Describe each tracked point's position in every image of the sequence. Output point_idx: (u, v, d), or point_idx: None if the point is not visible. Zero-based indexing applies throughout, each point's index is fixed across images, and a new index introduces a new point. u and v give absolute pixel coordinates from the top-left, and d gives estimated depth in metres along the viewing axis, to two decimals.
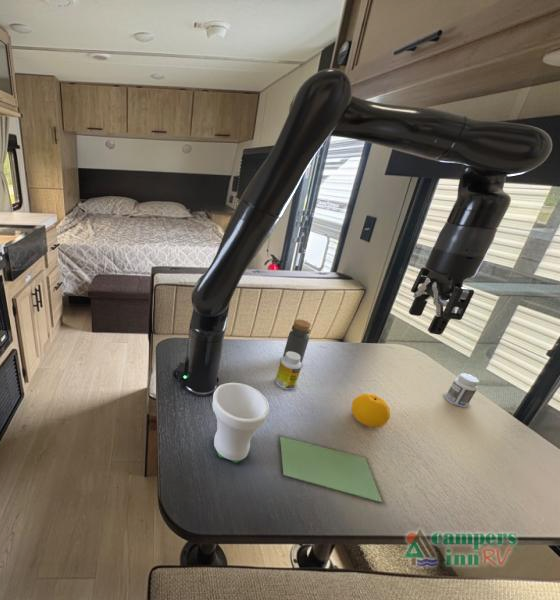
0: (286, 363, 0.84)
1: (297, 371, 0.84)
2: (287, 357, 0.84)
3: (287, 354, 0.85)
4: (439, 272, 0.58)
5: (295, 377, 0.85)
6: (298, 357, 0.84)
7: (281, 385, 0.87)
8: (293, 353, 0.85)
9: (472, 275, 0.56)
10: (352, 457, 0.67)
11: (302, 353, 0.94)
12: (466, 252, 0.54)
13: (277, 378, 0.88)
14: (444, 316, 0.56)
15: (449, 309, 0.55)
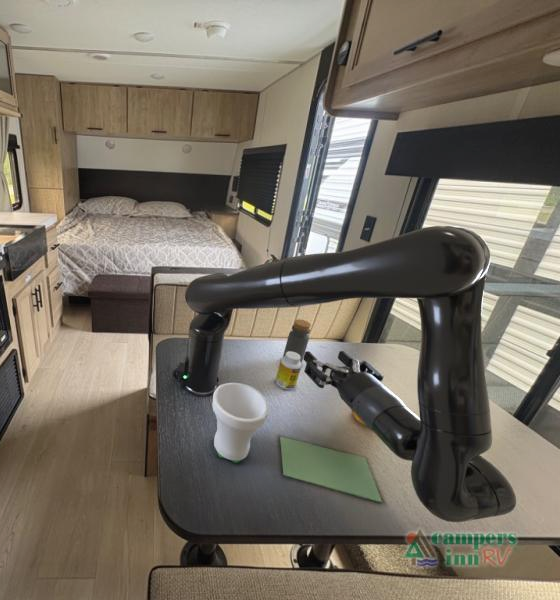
0: (286, 363, 0.84)
1: (297, 371, 0.84)
2: (287, 357, 0.84)
3: (287, 354, 0.85)
4: (349, 376, 0.59)
5: (295, 377, 0.85)
6: (298, 357, 0.84)
7: (281, 385, 0.87)
8: (293, 353, 0.85)
9: None
10: (352, 457, 0.67)
11: (302, 353, 0.94)
12: (356, 400, 0.56)
13: (277, 378, 0.88)
14: (308, 362, 0.66)
15: (310, 366, 0.64)
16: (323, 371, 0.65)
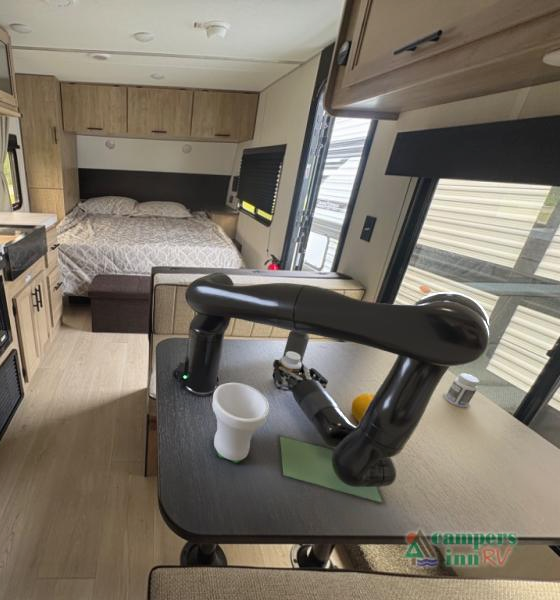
0: (286, 363, 0.84)
1: (297, 371, 0.84)
2: (287, 357, 0.84)
3: (287, 354, 0.85)
4: (301, 383, 0.76)
5: None
6: (298, 357, 0.84)
7: None
8: (293, 353, 0.85)
9: (294, 398, 0.77)
10: None
11: (302, 353, 0.94)
12: (303, 401, 0.73)
13: None
14: (275, 368, 0.83)
15: (275, 372, 0.82)
16: (285, 376, 0.82)
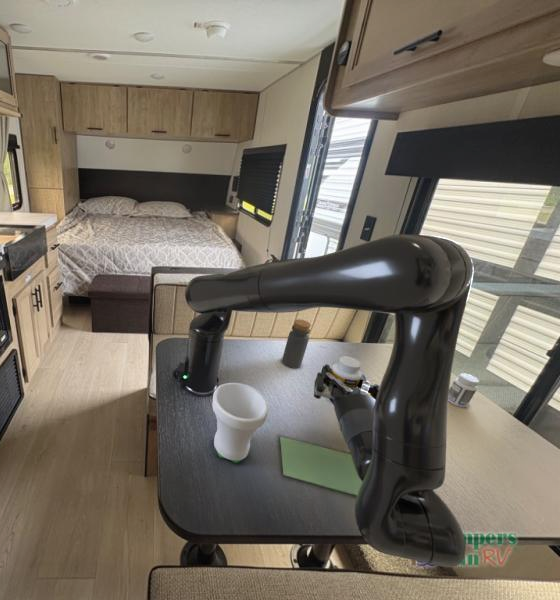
0: (338, 370, 0.64)
1: (352, 383, 0.62)
2: (340, 362, 0.64)
3: (341, 359, 0.64)
4: (347, 395, 0.56)
5: None
6: (356, 365, 0.62)
7: None
8: (351, 359, 0.64)
9: (336, 414, 0.58)
10: None
11: (302, 353, 0.94)
12: (343, 418, 0.53)
13: None
14: (319, 373, 0.64)
15: (317, 376, 0.63)
16: (331, 385, 0.62)
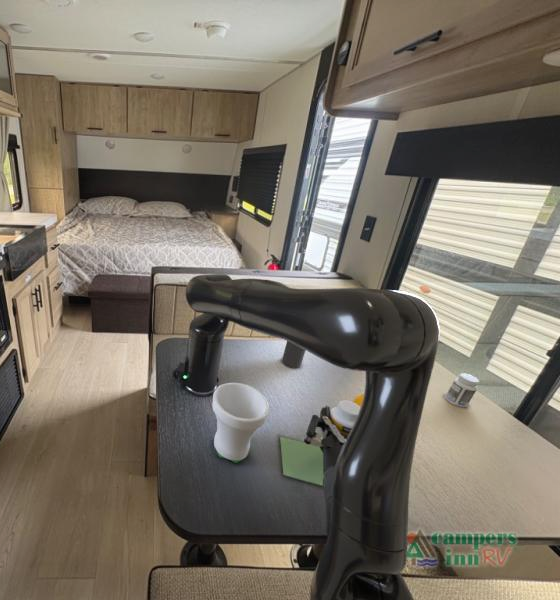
0: (336, 414, 0.58)
1: None
2: (339, 406, 0.58)
3: (342, 403, 0.58)
4: (336, 446, 0.51)
5: None
6: (357, 412, 0.56)
7: None
8: (353, 405, 0.58)
9: None
10: None
11: (302, 353, 0.94)
12: (326, 472, 0.48)
13: None
14: (314, 415, 0.59)
15: (311, 419, 0.58)
16: (326, 431, 0.57)
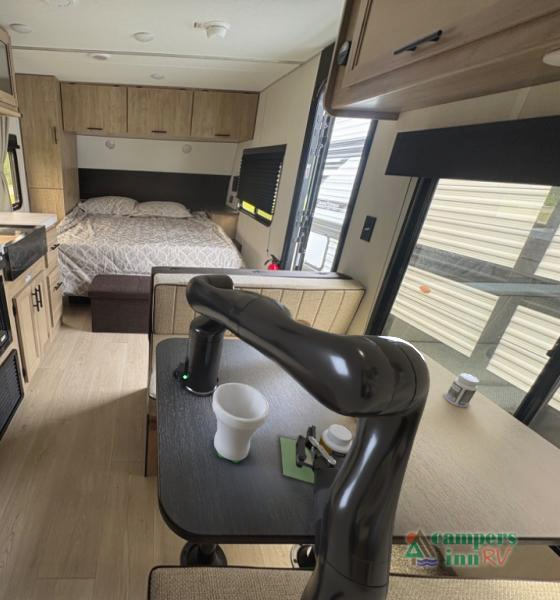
0: (326, 439, 0.61)
1: (340, 456, 0.59)
2: (330, 431, 0.60)
3: (332, 427, 0.61)
4: (326, 468, 0.53)
5: None
6: (346, 437, 0.59)
7: None
8: (343, 429, 0.60)
9: None
10: None
11: None
12: (316, 494, 0.51)
13: None
14: (300, 435, 0.61)
15: (298, 441, 0.60)
16: (314, 452, 0.59)
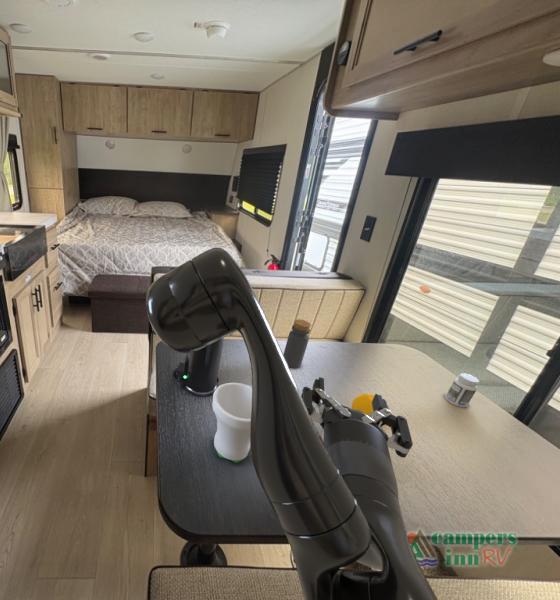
0: None
1: None
2: None
3: None
4: (340, 420, 0.42)
5: None
6: None
7: None
8: None
9: None
10: None
11: (302, 353, 0.94)
12: (327, 450, 0.40)
13: None
14: (306, 387, 0.50)
15: (303, 393, 0.49)
16: (322, 406, 0.48)
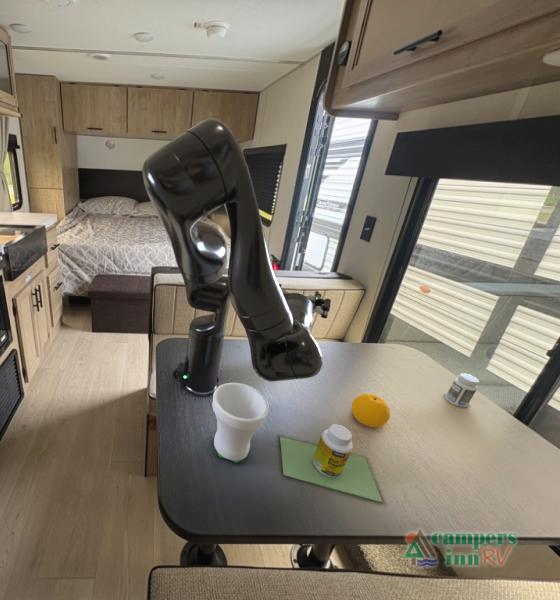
0: (326, 439, 0.61)
1: (340, 456, 0.59)
2: (330, 431, 0.60)
3: (332, 427, 0.61)
4: (285, 294, 0.65)
5: (337, 463, 0.60)
6: (346, 437, 0.59)
7: (316, 465, 0.63)
8: (343, 429, 0.60)
9: None
10: (352, 457, 0.67)
11: None
12: None
13: (314, 454, 0.64)
14: None
15: None
16: None
